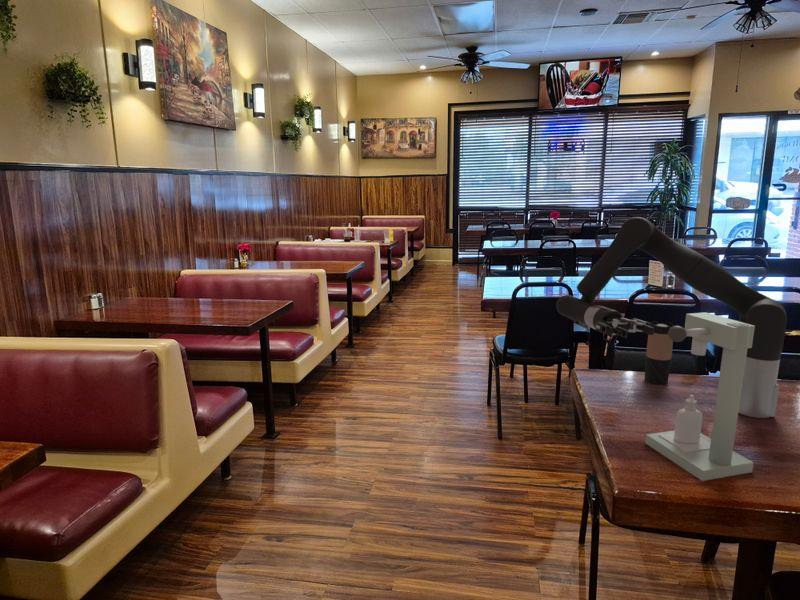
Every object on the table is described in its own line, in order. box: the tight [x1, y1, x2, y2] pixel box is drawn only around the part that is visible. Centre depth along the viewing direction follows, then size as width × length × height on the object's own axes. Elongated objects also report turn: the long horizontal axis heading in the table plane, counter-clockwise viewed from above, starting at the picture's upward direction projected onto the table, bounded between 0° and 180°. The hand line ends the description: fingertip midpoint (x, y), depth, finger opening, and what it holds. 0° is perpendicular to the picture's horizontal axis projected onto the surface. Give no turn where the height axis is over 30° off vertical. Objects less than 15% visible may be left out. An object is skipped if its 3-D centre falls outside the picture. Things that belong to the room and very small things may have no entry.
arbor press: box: [645, 312, 755, 482], centre depth 120 cm, size 18×20×35 cm
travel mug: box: [644, 321, 675, 385], centre depth 171 cm, size 8×8×20 cm
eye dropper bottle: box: [673, 394, 703, 444], centre depth 125 cm, size 4×6×12 cm
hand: (639, 332), depth 140 cm, fingers open, 8 cm apart
